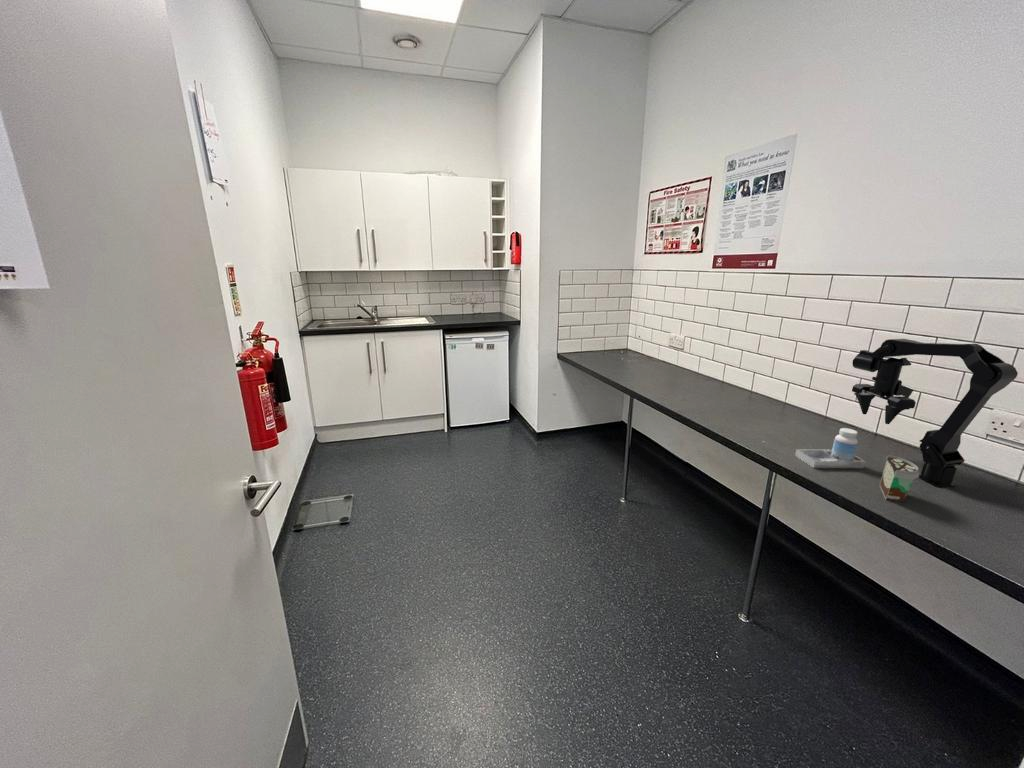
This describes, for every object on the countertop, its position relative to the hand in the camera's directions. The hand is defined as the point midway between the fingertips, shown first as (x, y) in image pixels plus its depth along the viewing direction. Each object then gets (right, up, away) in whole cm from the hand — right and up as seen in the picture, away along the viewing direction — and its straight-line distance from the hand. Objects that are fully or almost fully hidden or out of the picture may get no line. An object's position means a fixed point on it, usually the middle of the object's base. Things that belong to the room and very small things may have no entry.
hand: (875, 418), depth 144 cm
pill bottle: (-15, -14, -3) cm, 21 cm away
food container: (-14, -21, -23) cm, 34 cm away
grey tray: (-19, -14, -3) cm, 24 cm away
